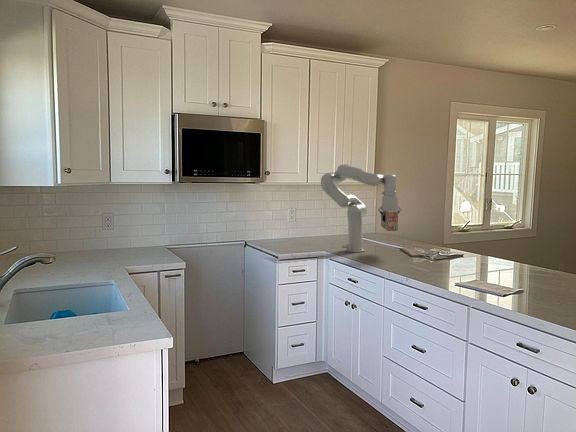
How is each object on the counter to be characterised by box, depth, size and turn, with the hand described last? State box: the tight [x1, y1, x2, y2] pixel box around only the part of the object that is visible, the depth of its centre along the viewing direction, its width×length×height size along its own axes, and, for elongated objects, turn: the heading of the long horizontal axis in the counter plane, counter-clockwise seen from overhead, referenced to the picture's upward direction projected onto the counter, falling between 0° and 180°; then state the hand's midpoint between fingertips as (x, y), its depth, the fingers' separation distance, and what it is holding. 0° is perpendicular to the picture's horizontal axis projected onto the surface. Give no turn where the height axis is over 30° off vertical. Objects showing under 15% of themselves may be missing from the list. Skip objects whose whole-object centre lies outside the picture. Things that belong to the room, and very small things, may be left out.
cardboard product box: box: [380, 211, 399, 232], centre depth 302 cm, size 21×6×12 cm, turn 1°
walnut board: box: [400, 246, 425, 258], centre depth 304 cm, size 12×27×1 cm, turn 2°
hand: (389, 221), depth 301 cm, fingers closed on cardboard product box, 6 cm apart
